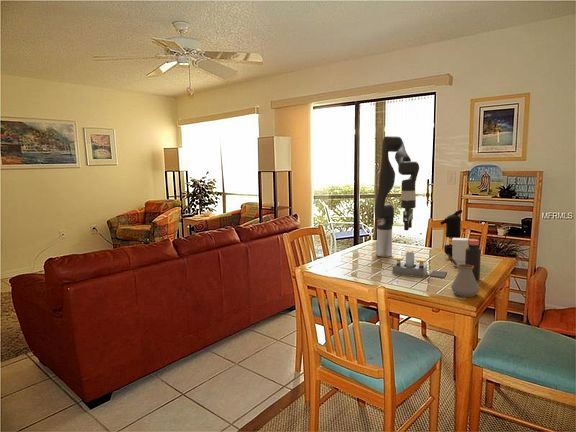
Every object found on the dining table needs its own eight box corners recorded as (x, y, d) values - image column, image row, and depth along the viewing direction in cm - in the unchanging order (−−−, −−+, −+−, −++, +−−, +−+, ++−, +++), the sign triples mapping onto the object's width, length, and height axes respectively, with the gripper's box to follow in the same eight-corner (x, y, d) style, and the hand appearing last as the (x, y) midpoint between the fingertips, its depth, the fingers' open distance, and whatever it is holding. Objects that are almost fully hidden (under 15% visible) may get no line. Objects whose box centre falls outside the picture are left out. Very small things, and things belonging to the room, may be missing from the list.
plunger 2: (416, 268, 197) (416, 260, 196) (417, 266, 200) (418, 258, 200) (425, 269, 194) (425, 260, 194) (426, 267, 198) (426, 259, 198)
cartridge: (404, 273, 200) (404, 251, 198) (406, 271, 204) (406, 249, 202) (413, 274, 198) (413, 252, 196) (414, 272, 202) (415, 250, 200)
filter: (456, 256, 234) (457, 208, 230) (464, 259, 225) (466, 210, 221) (435, 257, 232) (436, 209, 228) (443, 260, 223) (444, 211, 219)
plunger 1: (393, 266, 203) (393, 257, 202) (395, 264, 206) (395, 255, 206) (401, 267, 200) (401, 258, 200) (403, 265, 204) (403, 256, 204)
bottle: (472, 281, 183) (474, 241, 180) (461, 278, 189) (462, 239, 187) (482, 279, 186) (484, 240, 183) (471, 276, 192) (472, 238, 189)
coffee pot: (485, 297, 162) (486, 263, 160) (460, 299, 160) (461, 265, 158) (457, 282, 183) (458, 252, 181) (434, 284, 181) (435, 253, 179)
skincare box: (467, 264, 213) (468, 238, 211) (468, 267, 207) (469, 240, 205) (451, 263, 217) (452, 237, 215) (451, 266, 211) (452, 239, 209)
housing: (392, 273, 201) (392, 266, 200) (397, 268, 209) (397, 261, 209) (423, 277, 193) (423, 269, 192) (427, 272, 201) (427, 265, 201)
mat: (429, 276, 194) (429, 275, 194) (432, 271, 202) (432, 270, 202) (444, 278, 190) (444, 277, 190) (446, 272, 199) (446, 272, 199)
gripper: (403, 197, 208) (403, 226, 210) (398, 200, 196) (398, 230, 198) (417, 198, 205) (417, 227, 207) (413, 200, 192) (412, 231, 194)
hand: (407, 228), depth 202 cm, fingers open, 8 cm apart
